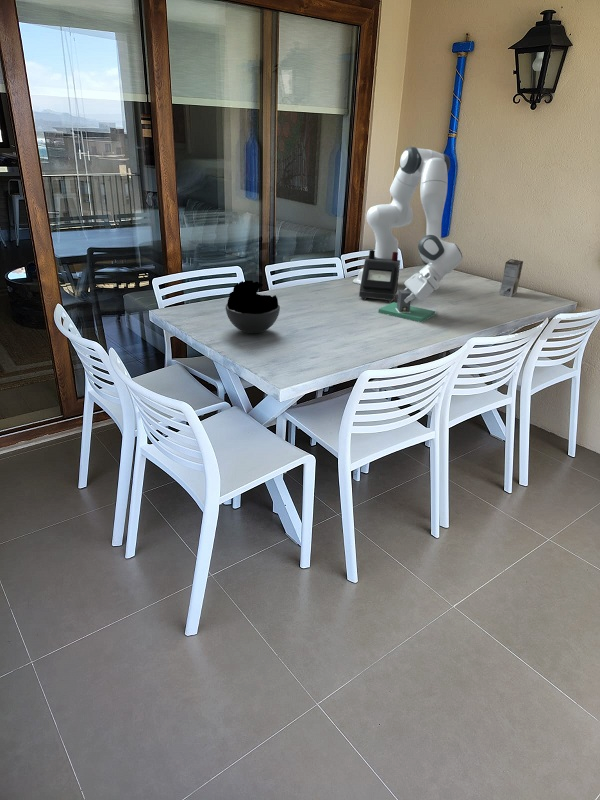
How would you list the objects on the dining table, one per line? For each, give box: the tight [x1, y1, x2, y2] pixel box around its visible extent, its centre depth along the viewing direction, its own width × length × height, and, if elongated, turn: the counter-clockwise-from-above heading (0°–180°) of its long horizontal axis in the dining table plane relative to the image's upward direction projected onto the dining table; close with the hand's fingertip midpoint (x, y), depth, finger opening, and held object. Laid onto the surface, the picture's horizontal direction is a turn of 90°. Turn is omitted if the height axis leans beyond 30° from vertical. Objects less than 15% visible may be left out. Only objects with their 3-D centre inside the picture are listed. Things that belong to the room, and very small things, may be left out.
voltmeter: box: [358, 249, 401, 303], centre depth 251 cm, size 16×16×20 cm
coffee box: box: [499, 258, 524, 298], centre depth 265 cm, size 9×6×16 cm
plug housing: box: [396, 289, 412, 312], centre depth 229 cm, size 5×4×8 cm
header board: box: [378, 301, 436, 323], centre depth 232 cm, size 20×14×2 cm
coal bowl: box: [225, 279, 281, 334], centre depth 200 cm, size 20×20×19 cm
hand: (402, 299), depth 229 cm, fingers closed on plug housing, 5 cm apart
